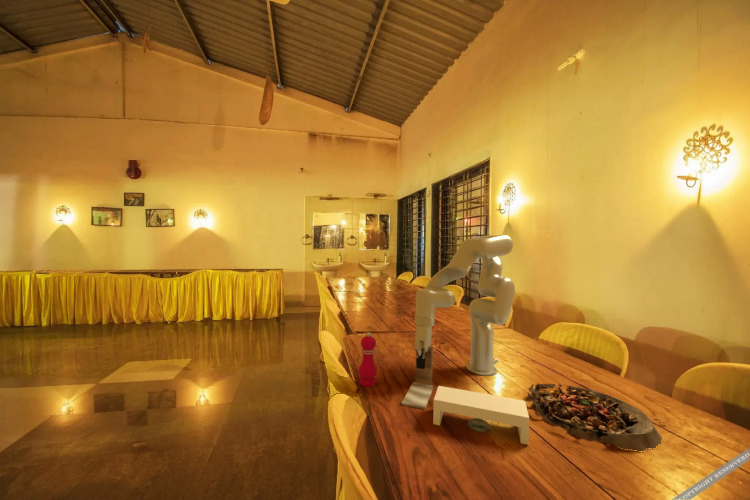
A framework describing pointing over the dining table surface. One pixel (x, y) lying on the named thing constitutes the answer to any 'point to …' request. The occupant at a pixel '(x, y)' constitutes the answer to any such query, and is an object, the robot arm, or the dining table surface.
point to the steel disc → (478, 425)
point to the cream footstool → (482, 408)
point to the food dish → (595, 416)
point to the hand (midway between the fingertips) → (423, 364)
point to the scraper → (421, 384)
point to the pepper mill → (368, 361)
